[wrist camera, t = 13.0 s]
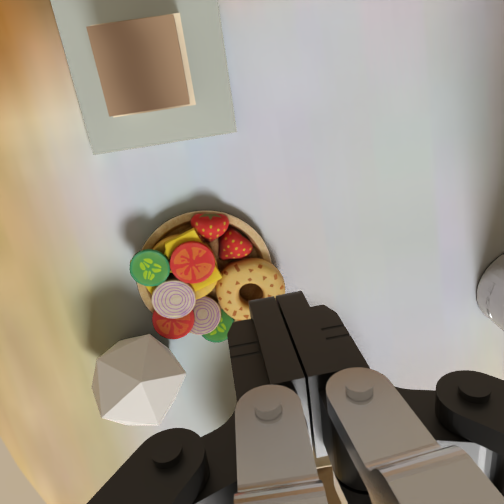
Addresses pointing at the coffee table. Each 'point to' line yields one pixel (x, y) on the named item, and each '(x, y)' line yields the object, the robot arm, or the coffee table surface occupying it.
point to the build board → (157, 122)
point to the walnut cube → (139, 64)
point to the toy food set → (203, 274)
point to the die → (137, 381)
